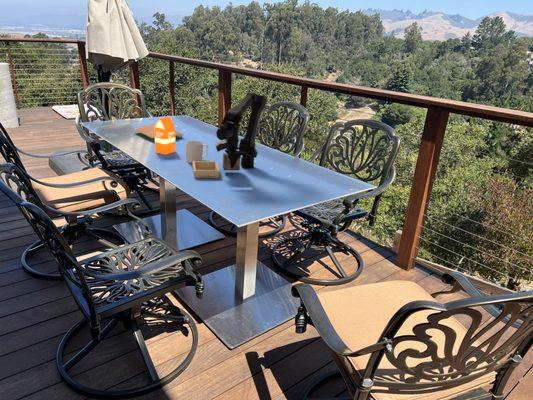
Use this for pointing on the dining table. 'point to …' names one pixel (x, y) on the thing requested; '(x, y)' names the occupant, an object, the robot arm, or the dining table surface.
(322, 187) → the dining table surface
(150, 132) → the brown green flat box
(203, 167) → the carton
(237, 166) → the walnut box
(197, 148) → the mug
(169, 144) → the orange juice
